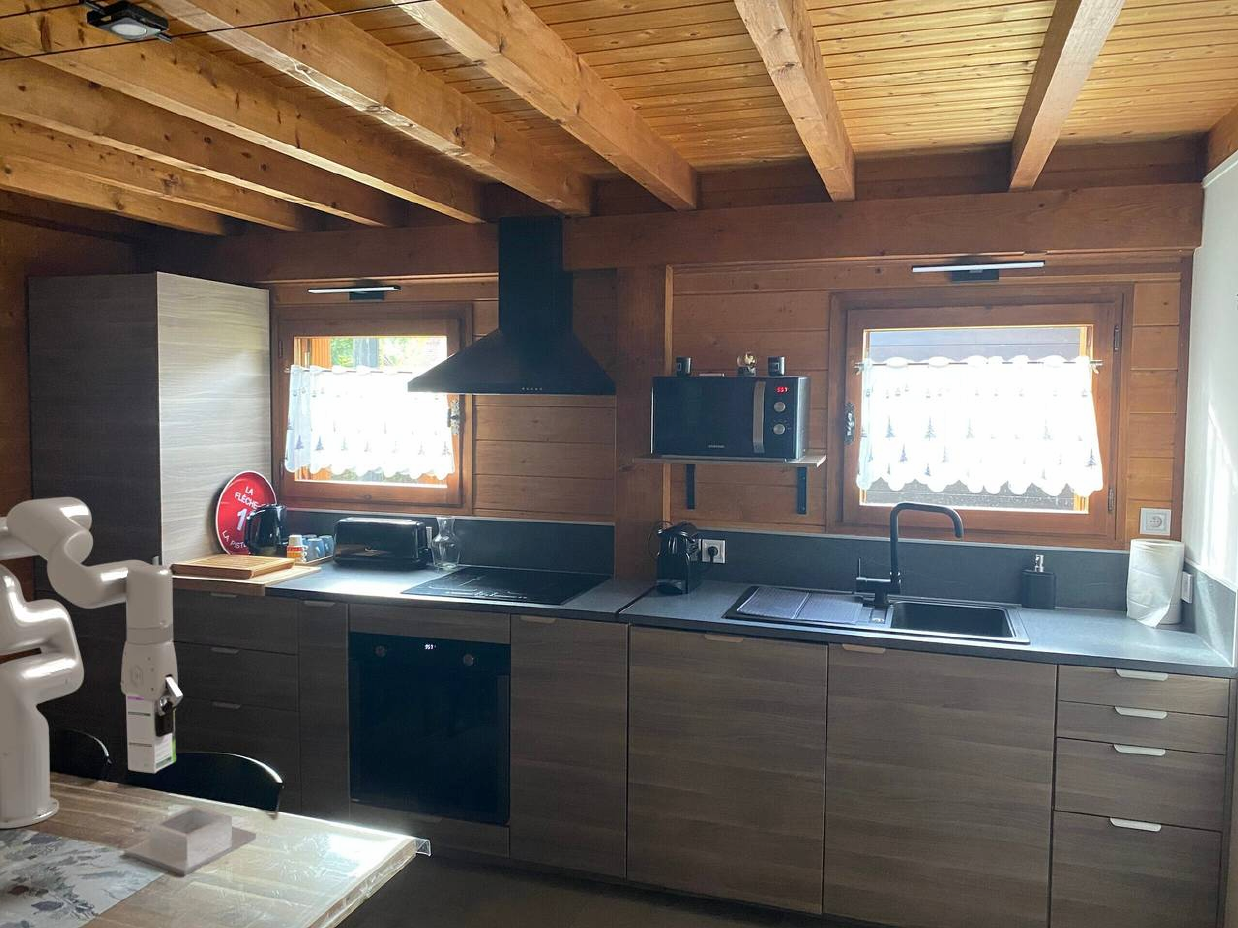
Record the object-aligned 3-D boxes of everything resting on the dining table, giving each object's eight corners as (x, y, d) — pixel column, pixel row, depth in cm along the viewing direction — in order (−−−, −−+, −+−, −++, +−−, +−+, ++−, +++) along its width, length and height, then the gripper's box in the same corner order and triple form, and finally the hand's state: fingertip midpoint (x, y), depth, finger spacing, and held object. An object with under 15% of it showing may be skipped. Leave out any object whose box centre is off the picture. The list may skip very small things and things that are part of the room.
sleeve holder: (124, 854, 172) (123, 828, 172) (197, 820, 187) (197, 796, 186) (184, 875, 165) (184, 848, 165) (255, 838, 180) (255, 813, 179)
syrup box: (154, 773, 167) (153, 694, 166) (126, 770, 169) (125, 691, 168) (176, 762, 173) (175, 685, 172) (149, 758, 174) (148, 682, 173)
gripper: (100, 632, 170) (102, 728, 171) (162, 645, 162) (164, 746, 163) (138, 623, 176) (139, 716, 178) (200, 636, 168) (201, 733, 170)
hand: (151, 729), depth 170 cm, fingers closed on syrup box, 6 cm apart
